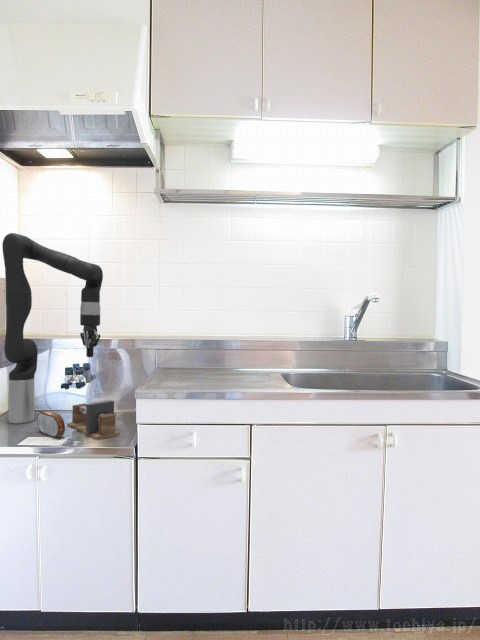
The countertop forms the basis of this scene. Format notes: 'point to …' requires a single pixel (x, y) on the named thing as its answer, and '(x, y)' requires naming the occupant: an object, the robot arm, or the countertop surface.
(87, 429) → the dark grey square plate
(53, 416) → the tin
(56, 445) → the countertop surface
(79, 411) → the rod stand
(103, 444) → the countertop surface
